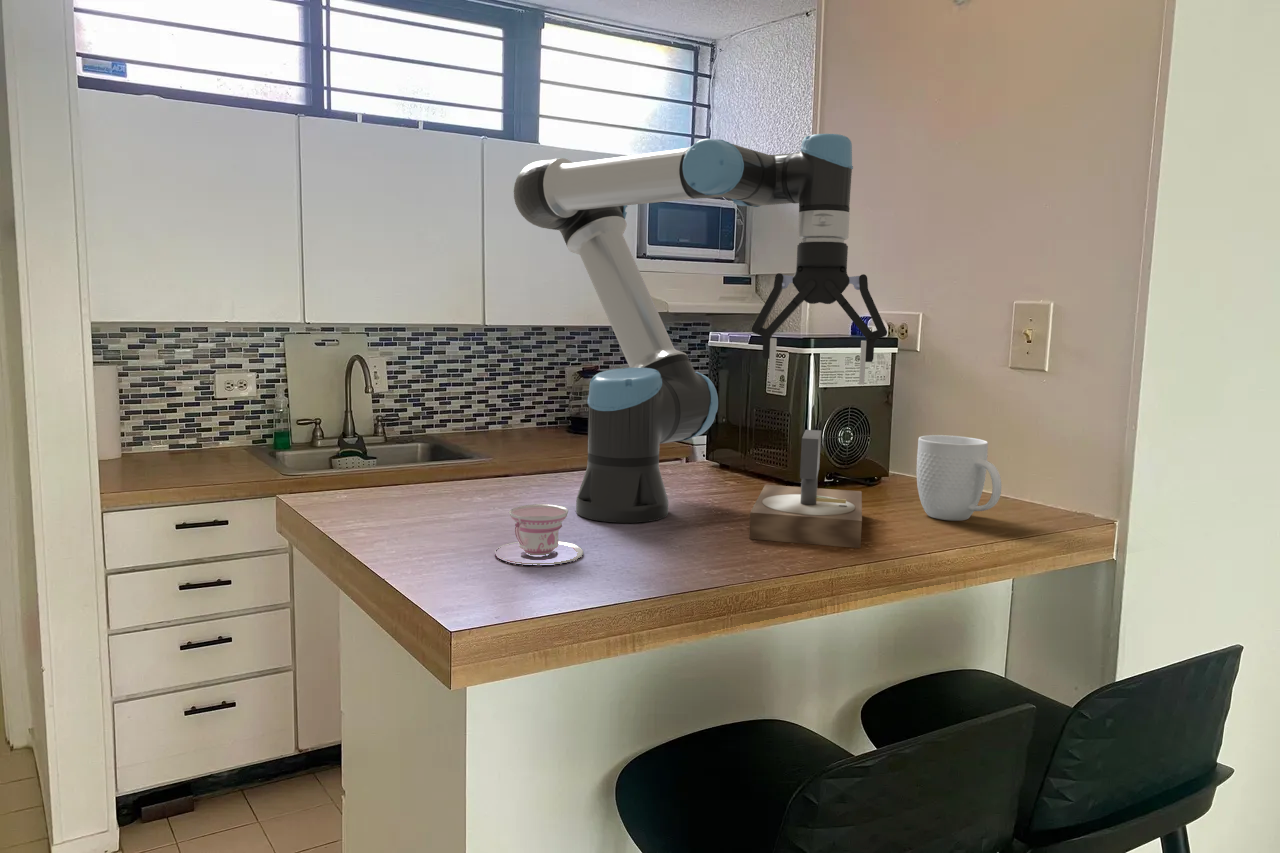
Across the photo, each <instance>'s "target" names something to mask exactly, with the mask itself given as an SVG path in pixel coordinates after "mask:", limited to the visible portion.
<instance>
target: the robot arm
mask: <svg viewBox="0 0 1280 853" xmlns="http://www.w3.org/2000/svg"><path fill="white" fill-rule="evenodd" d="M853 169H854V166H853V144H852V141H851V139H850V138H849V137H847V136H845V135H843V134H840V133H839V134H838V133H816V134H815V133H814V134H811V135H807V136H805V137H804V138H803V139H802V142H801V146H800V150H799V151H797V152H792V153H791V152H790V153H781V154H779V153H778V154H768V153H765V152H761V151H757V150H754V149H750V148H747V147H744V146H740V145H737V144H735V143H732V142H730V141H726V140H724V139H713V138H703V139H699V140H698V141H696V142H695V143H693V145H692V146H689V147H684V148H683V147H682V148H675V149H669V150H668V149H667V150H660V151H654V152H653V151H651V152H646V153H638V154H637V153H636V154H632V155H631V154H630V155H623V156H616V157H609V158H607V157H606V158H601V159H594V160H585V161H578V162H577V161H576V162H572V161H571V160H570V159H569V158H568V159H567V158H564V157H563V158H562V157H560V158H559V157H558V158H552V159H542V160H536V161H533V162H530V163H528V164H527V165H525V166H524V167H523V169H522V170H521V171H520V172H519V173H518V175H517V177H516V179H515V182H514V187H513V199H514V204H515V205H516V208H517V210H518V212H519V213H520V215H521V216H522V217H523V218H524V219H525V220H526V221H527V222H528V223H530V224H532V225H534V226H537V227H539V228H541V229H548V230H554V231H559V232H560V234H561V236H562V239H563V240H564V242H565V244H566V247H567V248H568V251H569V252H570V253H572V254H577V255H579V256H580V258H581V261H582V263H583V265H584V267H585V269H586V272H587V274H588V277H589V278H590V281H591V283H592V286H593V287H594V290H595V292H596V294H597V296H598V300H600V304H601V305H602V308H603V310H604V313H605V315H606V318H607V320H608V322H609V323H610V325H611V329H612V330H613V332H614V335H615V338H616V340H617V342H618V344H619V347H620V349H621V351H622V353H623V356H624V358H625V360H626V362H627V365H628V367H625V368H614V369H608V370H603V371H600V372H598V373H596V374H595V375H593V377H592V378H591V379H590V381H589V385H588V386H589V390H588V396H587V465H586V470H585V472H584V475H583V478H582V481H581V484H580V487H579V490H578V493H577V496H576V500H575V501H576V503H575V512H576V514H577V515H578V516H580V517H582V518H585V519H589V520H593V521H598V522H606V523H622V524H623V523H624V524H625V523H627V524H628V523H629V524H631V523H634V524H635V523H647V522H652V521H657V520H661V519H663V518H665V517H667V516H668V515H669V498H668V493H667V491H666V486H665V483H664V481H663V478H662V474H661V470H660V445H661V444H667V443H673V442H683V441H689V440H691V439H692V438H695V437H699V436H701V435H703V434H704V433H705V432H707V431H708V430H709V429H710V427H711V426H712V424H714V421H715V419H716V414H717V413H718V409H719V397H718V393H717V389H716V387H715V384H714V383H713V381H712V380H711V379H710V378H709V377H708V376H706V375H704V374H703V373H701V372H698V371H695V369H694V366H693V365H692V363H691V360H690V359H689V355H687V353H686V352H684V351H681V350H678V349H676V348H675V347H674V345H673V342H672V340H671V338H670V336H669V333H668V332H667V329H666V327H665V325H664V322H663V320H662V318H661V316H660V314H659V311H658V310H657V307H656V305H655V302H654V300H653V298H652V296H651V293H650V291H649V289H648V287H647V285H646V282H645V281H644V278H643V276H642V274H641V272H640V270H639V267H638V265H637V263H636V261H635V258H634V255H633V254H632V251H631V250H630V247H629V245H628V243H627V241H626V238H625V236H624V233H625V232H626V229H627V226H628V225H627V221H626V218H627V213H628V212H626V209H627V208H628V206H633V205H643V204H653V203H663V202H665V203H666V202H673V201H684V200H685V201H686V200H693V199H695V200H697V199H711V198H726V199H731V200H732V201H733V203H734V205H736V206H738V207H739V206H740V207H753V208H759V207H761V206H772V205H773V206H775V205H786V204H787V205H788V204H798V223H797V224H798V226H797V238H798V239H799V240H801V241H800V242H799V243H798V245H797V248H796V268H795V273H794V275H788V274H787V275H786V274H782V273H779V272H778V273H776V274H775V276H774V282H773V288H772V290H771V291H770V293H769V296H768V297H767V299H766V301H765V302H764V304H763V306H762V308H761V310H760V312H759V313H758V316H757V317H756V320H755V322H754V323H753V325H752V327H751V331H752V332H751V333H753V334H756V335H759V336H761V338H762V358H763V359H768V361H769V363H768V382H774V381H775V380H776V366H777V365H776V364H777V361H776V360H777V342H778V340H777V337H773V335H774V334H775V333H776V331H778V330H779V328H780V327H781V326H782V325H783V324H784V322H786V321H787V320H788V318H789V317H790V316H791V315H792V314H793V313H794V312H795V311H796V310H797V308H798V307H800V306H801V305H802V304H803V302H806V303H807V304H810V305H811V304H814V305H815V304H819V303H820V304H824V305H831V304H834V303H835V302H837V303H838V305H839V307H841V308H842V309H843V311H844V312H845V313H846V315H847V316H848V317H849V319H851V322H853V323H854V324H855V326H856V327H857V328H858V329H859V331H860V333H861V334H862V335H863V336H864V337H865V340H861V341H860V358H859V376H858V378H859V380H858V384H859V385H865V377H866V376H865V374H866V373H865V372H866V363H873V361H874V353H875V352H874V351H875V342H876V340H878V339H880V338H883V337H886V336H887V335H888V331H887V330H888V329H887V328H886V326H885V323H884V322H883V318H882V317H881V315H880V313H879V311H878V308H877V306H876V304H875V302H874V300H873V297H872V295H871V292H870V291H869V283H868V276H867V275H866V274H862V273H861V275H855V276H849V275H848V253H849V252H848V250H849V246H848V244H847V243H846V242H845V241H846V240H848V239H849V234H850V215H851V214H850V202H851V188H852V175H853V174H852V173H853ZM790 284H793V286H794V287H795V289H796V290H797V292H798V293H797V294H796V295H795V297H793V298H792V299H791V301H790V302H789V303H788V304H787V305H786V306H785V308H783V310H782V311H781V312H780V313H779V314H778V315H777V316H776V317H775V318H774V320H773V321H772V322H771V323H770V324H769V325H768V326H767V327H766V328H765V327H764V325H765V323H766V321H767V320H768V318H769V317H770V314H771V313H772V310H773V308H774V307H775V305H776V303H777V301H778V299H779V297H780V296H781V294H782V291H783V290H784V289H785V290H786V289H787V288H788V287H789V285H790ZM850 284H851V285H852V286H853V287H854V289H855V290H857V291H859V292H860V295H861V298H862V301H863V302H864V304H865V306H866V308H867V310H868V313H869V315H870V318H871V320H872V322H873V324H874V326H875V329H876V330H873V331H872V330H871V329H870V328H869V326H868V325H867V324H866V322H865V321H864V320H863V318H861V316H860V315H859V314H858V313H857V311H856V310H855V308H853V306H852V305H851V304H850V302H849V301H848V300H847V298H845V296H844V295H843V293H844V291H846V289H847V287H849V285H850Z"/></svg>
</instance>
